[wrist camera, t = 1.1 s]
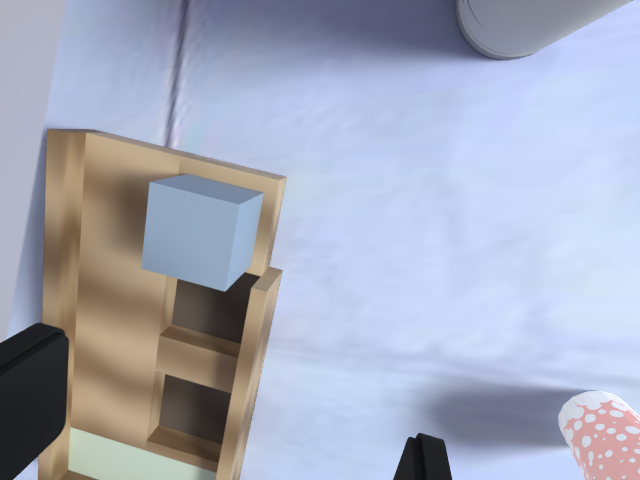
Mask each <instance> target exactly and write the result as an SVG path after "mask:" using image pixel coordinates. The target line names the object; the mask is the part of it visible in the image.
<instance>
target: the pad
mask: <svg viewBox="0 0 640 480" xmlns="http://www.w3.org/2000/svg"><path fill="white" fill-rule="evenodd" d="M68 470H70V471H73V472H76V473H79V474H83V475H86V476H89V477H92V478H95V479H98V480H216V475H217V473H215V472H212V471H210V470H205V469H202V468H199V467H197V466H193V465H191V464H186V463H185V462H184V463H183V462H180V461H177V460H174V459H171V458H167V457H166V456H162V455H159V454H156V453H151V452H148V451H146V450H143V449H140V448H136V447H133V446H129V445H127V444H123V443H121V442H117V441H115V440H112V439H111V440H110V439H107V438H104V437H101V436H98V435H94V434H91V433H89V432H86V431H82V430H78V429H75V428H72V427H70V446H69V465H68Z"/></svg>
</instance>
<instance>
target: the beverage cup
mask: <svg viewBox="0 0 640 480" xmlns="http://www.w3.org/2000/svg"><path fill="white" fill-rule="evenodd" d="M558 418H559V428H560V430H561V432H562V434H563V436H564V438H565V440H566V442H567V444H568V446H569V448H570V450H571V452H572V454H573V456H574V458H575V460H576V462H577V464H578V466H579V468H580V470H581V472H582V474H583V475H584V477H585V479H586V480H640V416H639V415H638V414H637V413H636V412H635V411H634V410H633V409H632V408H631V407H630V406H628V405H627V404H626V403H625V402H624V401H623V400H621V399H620V398H619V397H617V396H616V395H614V394H611V393H607V392H604V391H587V392H584V393H581V394H579V395H576V396H573V397H572V398H571V399H570V400H569V401H568V402H566V403H565V404H564V405H563V407H562V409H561V411H560V413H559V416H558Z"/></svg>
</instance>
